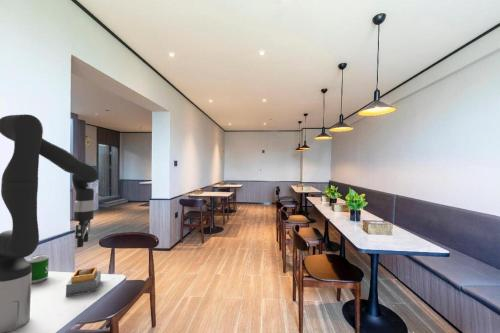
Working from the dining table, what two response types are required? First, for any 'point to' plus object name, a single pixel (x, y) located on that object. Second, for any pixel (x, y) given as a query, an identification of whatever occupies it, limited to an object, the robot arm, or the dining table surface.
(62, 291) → the dining table surface
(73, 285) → the box
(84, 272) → the walnut plug
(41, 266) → the soda can
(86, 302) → the dining table surface
